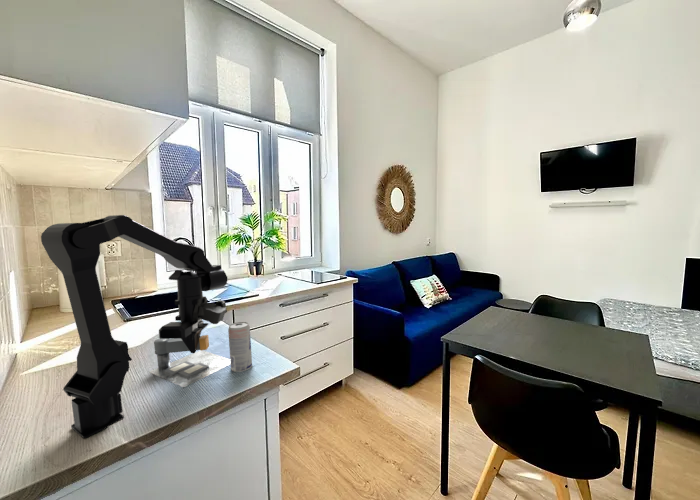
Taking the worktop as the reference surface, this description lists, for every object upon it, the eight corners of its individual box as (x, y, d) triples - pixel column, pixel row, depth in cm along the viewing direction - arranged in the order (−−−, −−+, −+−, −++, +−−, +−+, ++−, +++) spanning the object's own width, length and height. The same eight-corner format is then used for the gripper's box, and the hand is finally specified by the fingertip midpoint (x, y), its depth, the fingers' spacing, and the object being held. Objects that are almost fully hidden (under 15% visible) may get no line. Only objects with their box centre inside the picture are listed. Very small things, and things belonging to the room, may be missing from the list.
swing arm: (152, 355, 80) (151, 343, 79) (158, 349, 83) (157, 338, 83) (205, 350, 82) (204, 338, 82) (209, 345, 86) (208, 333, 85)
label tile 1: (187, 378, 76) (187, 375, 76) (178, 374, 78) (178, 372, 78) (209, 367, 81) (208, 365, 81) (199, 364, 83) (199, 362, 83)
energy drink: (251, 362, 85) (249, 320, 83) (252, 370, 80) (250, 326, 78) (231, 365, 83) (228, 323, 81) (231, 375, 78) (227, 329, 76)
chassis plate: (183, 389, 72) (182, 371, 71) (147, 372, 80) (146, 356, 80) (236, 362, 84) (235, 347, 84) (200, 351, 93) (199, 337, 92)
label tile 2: (172, 375, 77) (172, 373, 77) (163, 372, 79) (163, 370, 79) (194, 365, 82) (194, 363, 82) (186, 362, 84) (186, 360, 84)
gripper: (203, 303, 70) (206, 368, 71) (235, 287, 88) (237, 339, 90) (155, 303, 70) (159, 369, 71) (197, 288, 89) (199, 340, 90)
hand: (193, 352), depth 80 cm, fingers closed
